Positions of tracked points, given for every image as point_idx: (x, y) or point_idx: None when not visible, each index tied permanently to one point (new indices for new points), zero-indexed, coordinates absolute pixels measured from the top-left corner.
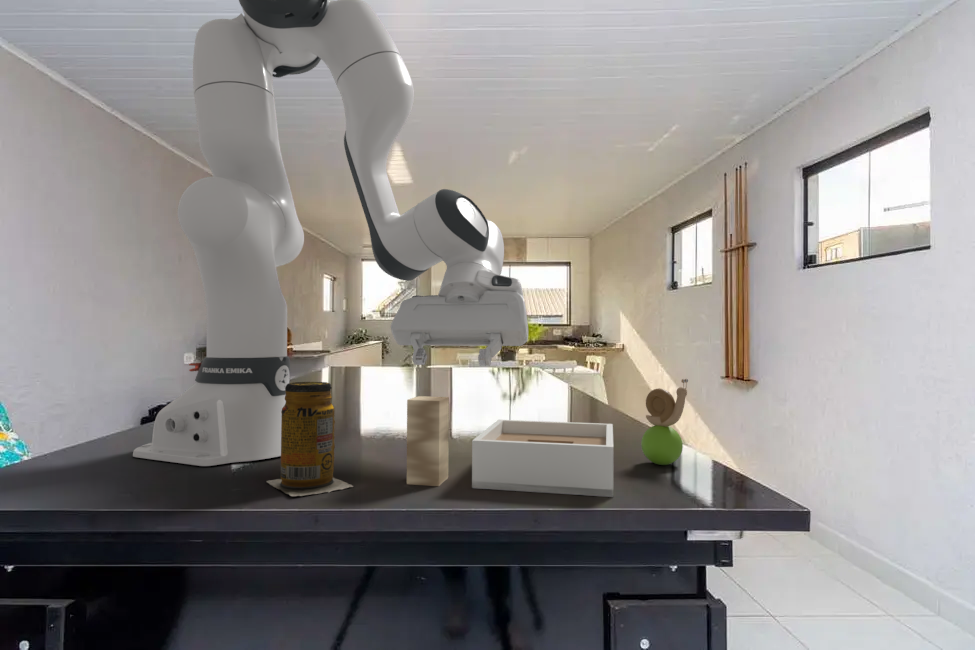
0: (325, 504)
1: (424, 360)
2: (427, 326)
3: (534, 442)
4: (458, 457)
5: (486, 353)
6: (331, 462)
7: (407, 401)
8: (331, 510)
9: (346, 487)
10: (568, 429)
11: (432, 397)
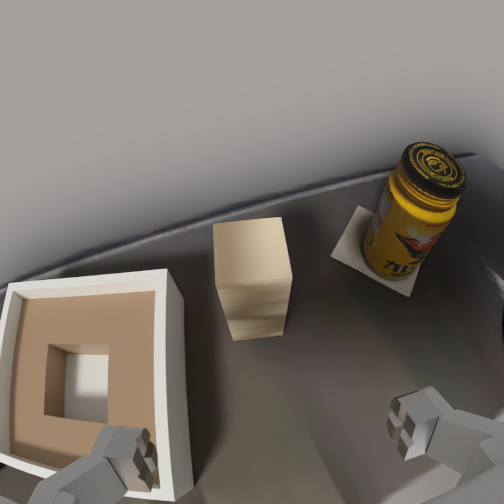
0: (316, 204)
1: (393, 427)
2: (493, 485)
3: (81, 282)
4: (269, 475)
5: (107, 438)
6: (370, 244)
7: (280, 218)
8: (298, 193)
9: (335, 250)
10: (48, 467)
11: (249, 266)
